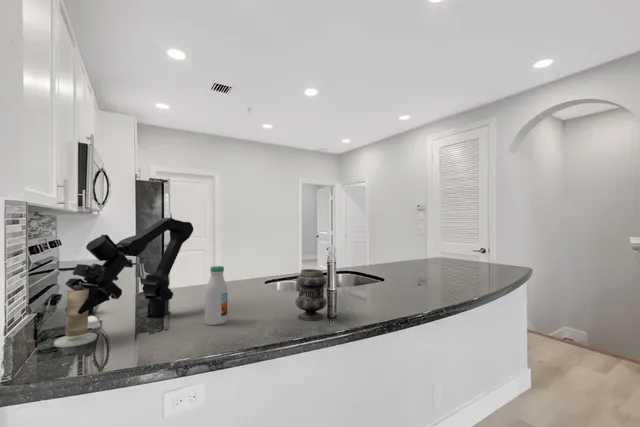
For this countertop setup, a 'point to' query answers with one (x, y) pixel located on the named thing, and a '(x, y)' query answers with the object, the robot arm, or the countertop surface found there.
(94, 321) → the soap
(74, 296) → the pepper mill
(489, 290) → the countertop surface
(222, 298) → the milk bottle
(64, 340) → the saucer
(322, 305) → the apothecary jar
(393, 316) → the countertop surface
